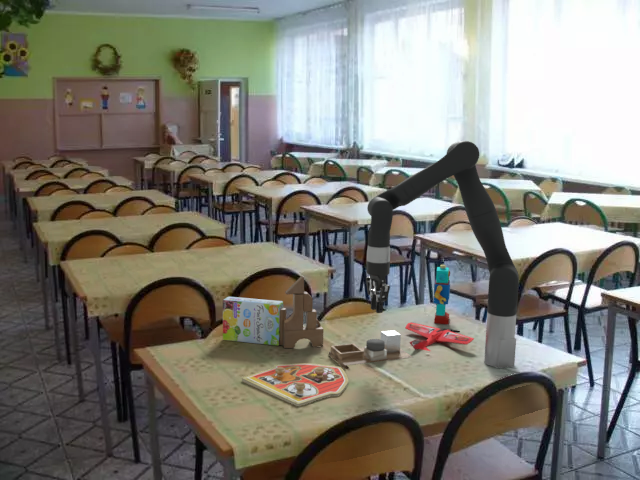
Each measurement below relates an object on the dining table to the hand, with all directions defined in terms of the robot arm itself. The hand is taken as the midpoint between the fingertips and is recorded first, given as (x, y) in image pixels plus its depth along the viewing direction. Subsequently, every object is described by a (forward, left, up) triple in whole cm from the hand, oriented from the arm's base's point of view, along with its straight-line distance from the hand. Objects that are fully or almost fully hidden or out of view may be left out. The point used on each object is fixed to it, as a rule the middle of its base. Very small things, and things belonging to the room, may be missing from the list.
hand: (376, 310), depth 244 cm
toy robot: (+33, -44, -17) cm, 58 cm away
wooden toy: (+23, +18, -17) cm, 34 cm away
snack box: (+32, +33, -17) cm, 49 cm away
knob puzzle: (-10, +28, -18) cm, 35 cm away
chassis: (+3, 0, -17) cm, 17 cm away
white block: (+5, -8, -16) cm, 19 cm away
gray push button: (0, 0, -16) cm, 16 cm away
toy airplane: (+7, -25, -18) cm, 32 cm away
